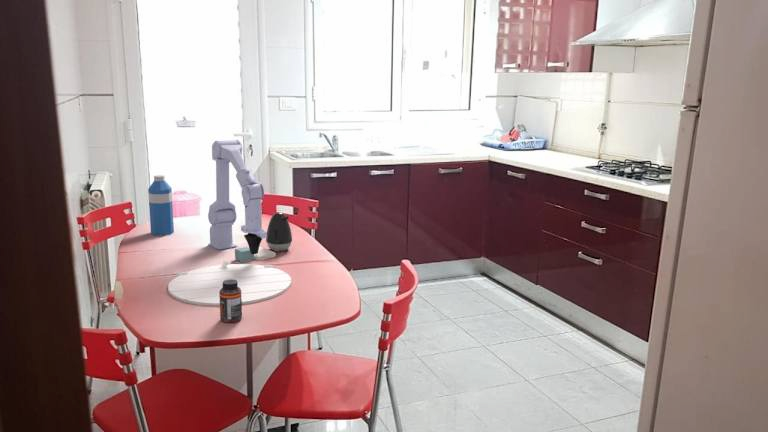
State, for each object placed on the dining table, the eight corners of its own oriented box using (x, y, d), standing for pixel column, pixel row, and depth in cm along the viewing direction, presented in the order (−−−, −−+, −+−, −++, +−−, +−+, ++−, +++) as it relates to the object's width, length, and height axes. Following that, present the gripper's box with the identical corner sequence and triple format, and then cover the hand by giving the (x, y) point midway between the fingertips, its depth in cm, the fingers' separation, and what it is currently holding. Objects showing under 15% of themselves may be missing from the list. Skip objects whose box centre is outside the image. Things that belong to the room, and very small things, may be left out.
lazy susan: (166, 271, 210) (166, 262, 209) (278, 262, 223) (278, 253, 223) (170, 313, 173) (169, 302, 173) (303, 299, 187) (303, 288, 186)
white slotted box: (237, 251, 235) (237, 247, 234) (255, 248, 240) (255, 244, 240) (257, 260, 224) (257, 256, 224) (275, 256, 229) (275, 252, 229)
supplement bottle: (217, 317, 170) (216, 279, 167) (238, 313, 173) (236, 276, 171) (224, 325, 165) (222, 286, 163) (245, 321, 168) (244, 282, 166)
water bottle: (150, 231, 262) (146, 174, 256) (172, 229, 266) (169, 173, 260) (151, 236, 253) (148, 178, 248) (175, 234, 257) (171, 177, 252)
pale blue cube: (235, 259, 224) (234, 248, 223) (246, 256, 228) (246, 246, 227) (242, 262, 221) (241, 251, 220) (253, 259, 224) (253, 249, 223)
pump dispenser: (279, 254, 232) (278, 216, 228) (260, 249, 238) (260, 212, 235) (297, 249, 240) (297, 212, 236) (279, 244, 246) (279, 208, 243)
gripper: (233, 215, 218) (234, 251, 221) (254, 222, 207) (255, 260, 210) (250, 212, 222) (251, 248, 225) (271, 219, 212) (272, 256, 215)
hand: (254, 253), depth 218 cm, fingers closed
